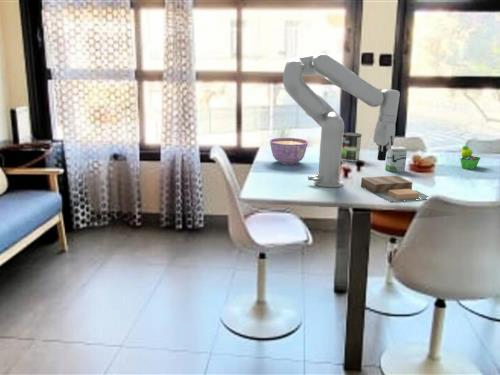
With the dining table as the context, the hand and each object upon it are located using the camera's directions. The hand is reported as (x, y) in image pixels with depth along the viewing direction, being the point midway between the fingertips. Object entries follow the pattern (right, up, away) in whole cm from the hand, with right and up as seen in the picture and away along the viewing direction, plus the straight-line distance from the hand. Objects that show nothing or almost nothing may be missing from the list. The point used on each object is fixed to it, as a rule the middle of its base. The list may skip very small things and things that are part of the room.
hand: (381, 160), depth 229 cm
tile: (+6, -14, -13) cm, 20 cm away
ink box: (+15, -4, +34) cm, 37 cm away
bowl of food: (-38, +1, +44) cm, 58 cm away
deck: (+2, -13, 0) cm, 13 cm away
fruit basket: (+57, -2, +45) cm, 72 cm away
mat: (+6, -16, -12) cm, 21 cm away
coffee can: (-3, +3, +56) cm, 56 cm away
